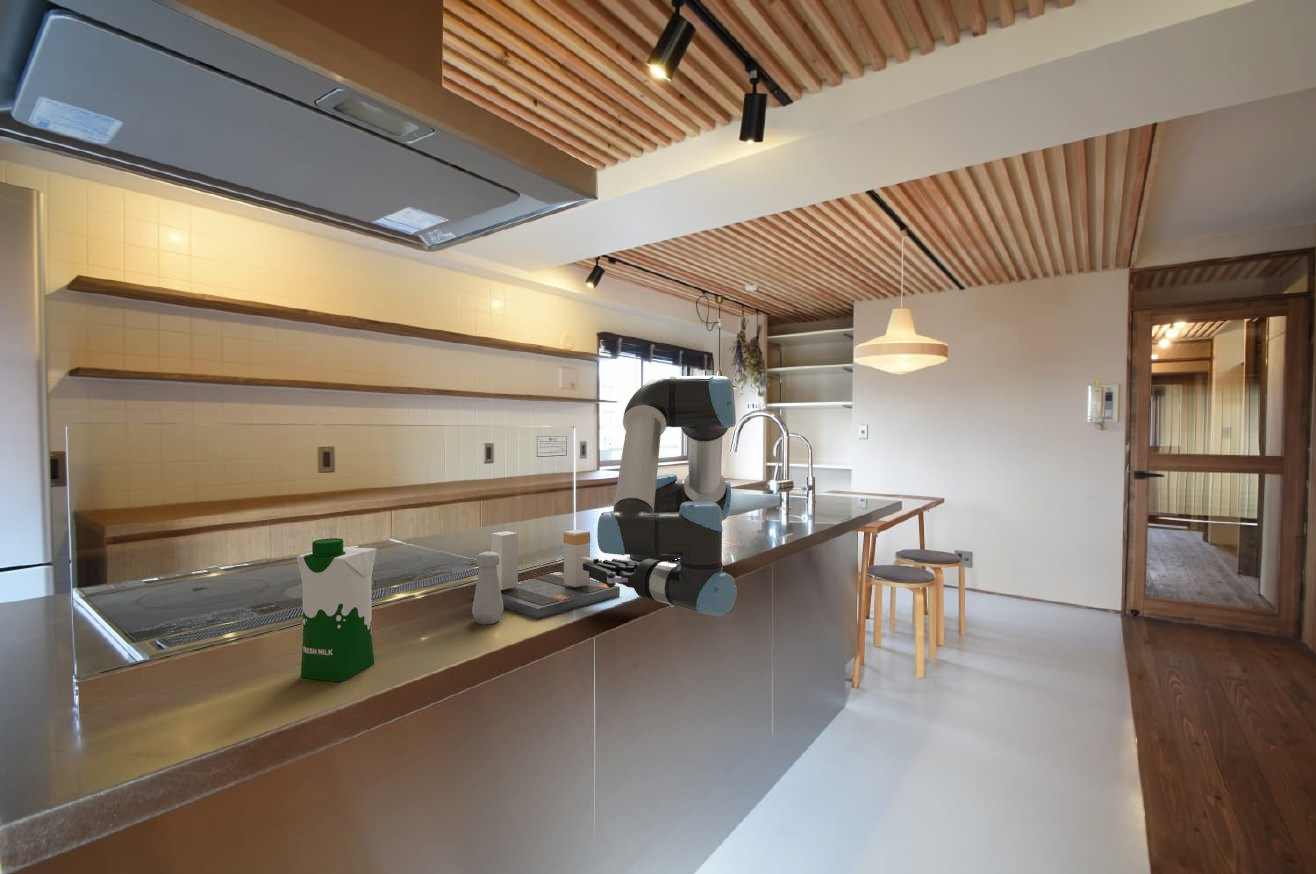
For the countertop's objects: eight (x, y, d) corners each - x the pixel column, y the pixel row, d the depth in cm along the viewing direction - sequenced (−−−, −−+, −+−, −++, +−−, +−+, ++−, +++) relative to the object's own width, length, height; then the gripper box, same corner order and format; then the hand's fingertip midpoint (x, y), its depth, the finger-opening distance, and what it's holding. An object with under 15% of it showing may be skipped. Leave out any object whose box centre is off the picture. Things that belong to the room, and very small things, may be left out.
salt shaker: (484, 628, 110) (484, 557, 110) (465, 622, 113) (465, 553, 113) (510, 620, 115) (510, 552, 114) (491, 614, 118) (491, 548, 118)
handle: (578, 580, 135) (578, 529, 135) (590, 583, 132) (590, 531, 132) (563, 584, 132) (563, 531, 132) (575, 587, 129) (575, 533, 129)
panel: (556, 578, 146) (556, 570, 146) (619, 595, 132) (619, 586, 132) (475, 597, 130) (475, 587, 130) (537, 619, 115) (537, 608, 115)
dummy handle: (507, 583, 132) (507, 531, 132) (517, 586, 130) (517, 533, 130) (491, 586, 129) (491, 533, 129) (501, 590, 127) (501, 535, 127)
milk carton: (290, 680, 87) (289, 542, 87) (335, 657, 96) (335, 532, 96) (342, 685, 85) (342, 544, 85) (384, 661, 94) (383, 534, 94)
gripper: (636, 608, 109) (554, 585, 124) (682, 593, 118) (600, 574, 134) (636, 567, 109) (554, 549, 124) (682, 555, 118) (600, 540, 134)
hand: (578, 562), depth 129 cm, fingers closed
